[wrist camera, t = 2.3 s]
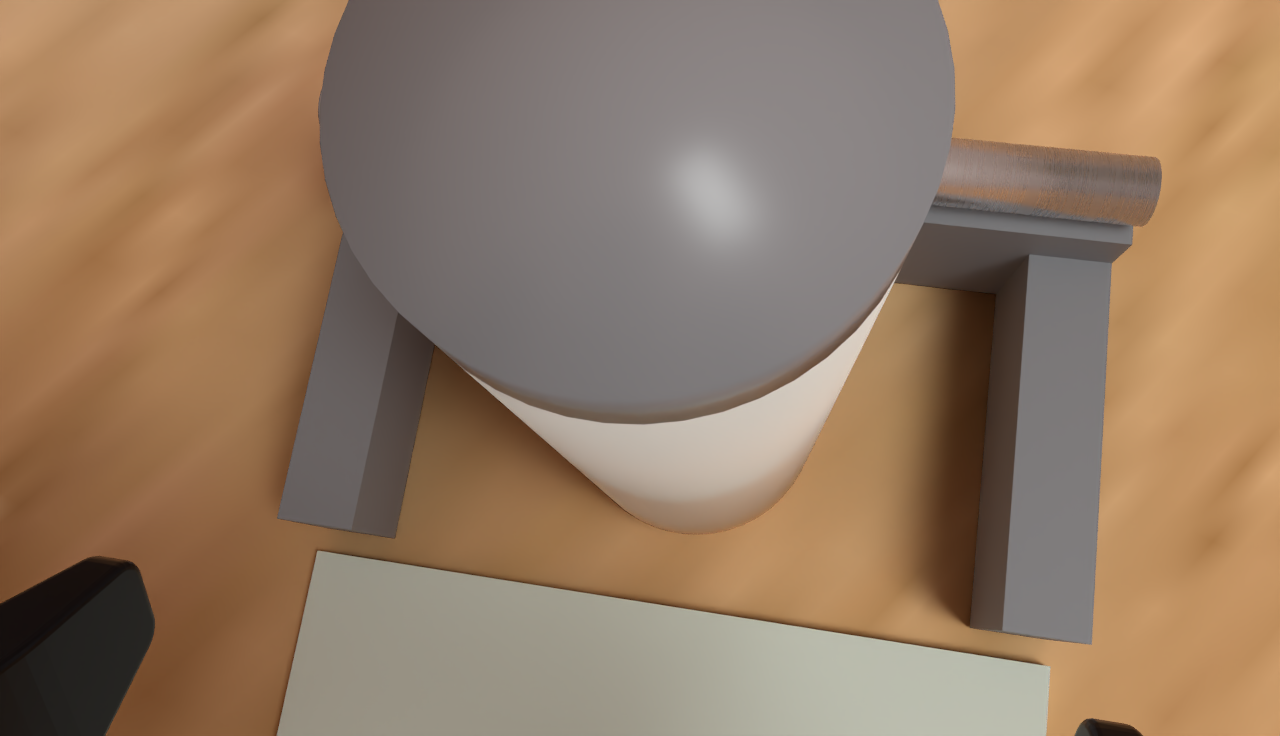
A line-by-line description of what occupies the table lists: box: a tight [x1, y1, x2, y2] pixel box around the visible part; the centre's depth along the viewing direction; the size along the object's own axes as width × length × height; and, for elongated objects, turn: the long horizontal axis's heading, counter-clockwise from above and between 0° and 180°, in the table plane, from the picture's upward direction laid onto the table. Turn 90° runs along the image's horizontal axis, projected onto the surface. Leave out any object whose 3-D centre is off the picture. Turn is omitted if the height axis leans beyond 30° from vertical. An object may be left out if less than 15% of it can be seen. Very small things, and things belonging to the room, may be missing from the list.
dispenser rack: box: [277, 90, 1162, 645], centre depth 19 cm, size 8×15×5 cm, turn 81°
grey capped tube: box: [320, 0, 955, 534], centre depth 15 cm, size 5×5×14 cm
